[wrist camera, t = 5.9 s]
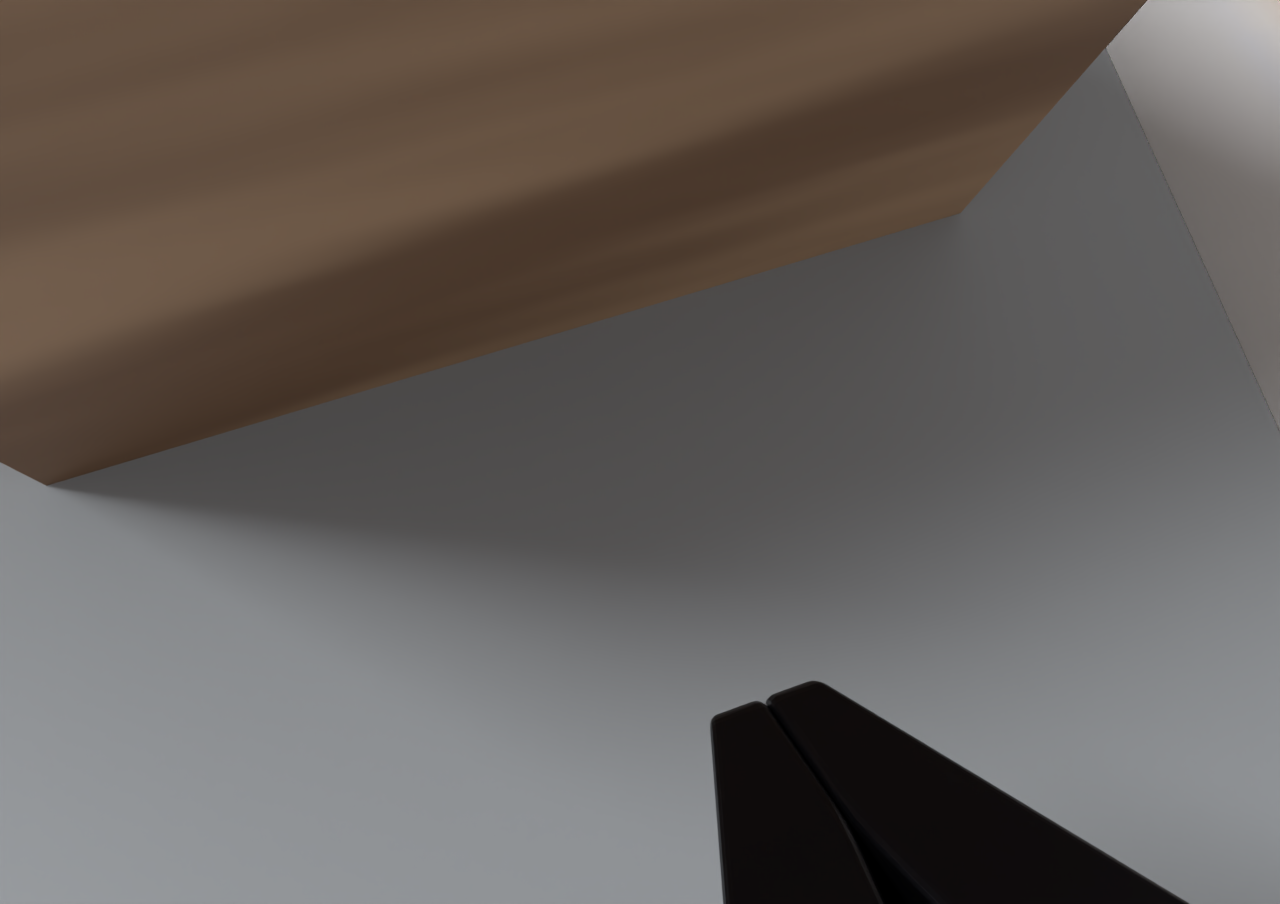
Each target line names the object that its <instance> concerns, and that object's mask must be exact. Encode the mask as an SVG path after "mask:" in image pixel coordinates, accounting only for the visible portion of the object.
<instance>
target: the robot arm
mask: <svg viewBox="0 0 1280 904" xmlns="http://www.w3.org/2000/svg"><path fill="white" fill-rule="evenodd" d="M710 736H711V749H712V762H713V776H714V789H715V803H716V816H717V830H718V843H719V857H720V870H721V883H722V897H723V904H1190V903H1188V902H1186V901H1185V900H1183V899H1181V898H1180V897H1178V896H1176V895H1175V894H1173V893H1172V892H1170V891H1168V890H1167V889H1165V888H1163V887H1162V886H1160V885H1158V884H1157V883H1155V882H1153V881H1152V880H1150V879H1148V878H1147V877H1145V876H1143V875H1142V874H1140V873H1138V872H1137V871H1135V870H1133V869H1132V868H1130V867H1128V866H1127V865H1125V864H1123V863H1122V862H1120V861H1118V860H1117V859H1115V858H1113V857H1112V856H1110V855H1109V854H1107V853H1105V852H1104V851H1102V850H1100V849H1099V848H1097V847H1095V846H1094V845H1092V844H1090V843H1089V842H1087V841H1085V840H1084V839H1082V838H1080V837H1079V836H1077V835H1075V834H1074V833H1072V832H1070V831H1069V830H1067V829H1065V828H1064V827H1062V826H1060V825H1059V824H1057V823H1055V822H1054V821H1052V820H1051V819H1049V818H1047V817H1046V816H1044V815H1042V814H1041V813H1039V812H1037V811H1036V810H1034V809H1032V808H1031V807H1029V806H1027V805H1026V804H1024V803H1022V802H1021V801H1019V800H1017V799H1016V798H1014V797H1012V796H1011V795H1009V794H1007V793H1006V792H1004V791H1002V790H1001V789H999V788H997V787H996V786H994V785H993V784H991V783H989V782H988V781H986V780H984V779H983V778H981V777H979V776H978V775H976V774H974V773H973V772H971V771H969V770H968V769H966V768H964V767H963V766H961V765H959V764H958V763H956V762H954V761H953V760H951V759H949V758H948V757H946V756H944V755H943V754H941V753H939V752H938V751H936V750H934V749H933V748H931V747H930V746H928V745H926V744H925V743H923V742H921V741H920V740H918V739H916V738H915V737H913V736H911V735H910V734H908V733H906V732H905V731H903V730H901V729H900V728H898V727H896V726H895V725H893V724H891V723H890V722H888V721H886V720H885V719H883V718H881V717H880V716H878V715H876V714H875V713H873V712H872V711H870V710H868V709H867V708H865V707H863V706H862V705H860V704H858V703H857V702H855V701H853V700H852V699H850V698H848V697H847V696H845V695H843V694H842V693H840V692H838V691H837V690H835V689H833V688H832V687H830V686H828V685H827V684H825V683H823V682H819V681H808V682H805V683H802V684H800V685H797V686H794V687H791V688H789V689H786V690H783V691H780V692H777V693H775V694H772V695H771V696H770V697H768V699H767V700H766V703H765V704H764V703H762V702H760V701H753V702H750V703H747V704H744V705H742V706H739V707H736V708H733V709H731V710H728V711H725V712H722V713H720V714H717V715H715V716H714V717H713V718H712V719H711V722H710Z"/></svg>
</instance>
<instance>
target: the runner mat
mask: <svg viewBox="0 0 1280 904" xmlns="http://www.w3.org/2000/svg"><path fill="white" fill-rule="evenodd" d="M808 681H819V682H823V683H825V684H827V685H828V686H830V687H832V688H833V689H835V690H837V691H838V692H840V693H842V694H843V695H845V696H847V697H848V698H850V699H852V700H853V701H855V702H857V703H858V704H860V705H862V706H863V707H865V708H867V709H868V710H870V711H872V712H873V713H875V714H876V715H878V716H880V717H881V718H883V719H885V720H886V721H888V722H890V723H891V724H893V725H895V726H896V727H898V728H900V729H901V730H903V731H905V732H906V733H908V734H910V735H911V736H913V737H915V738H916V739H918V740H920V741H921V742H923V743H925V744H926V745H928V746H930V747H931V748H933V749H934V750H936V751H938V752H939V753H941V754H943V755H944V756H946V757H948V758H949V759H951V760H953V761H954V762H956V763H958V764H959V765H961V766H963V767H964V768H966V769H968V770H969V771H971V772H973V773H974V774H976V775H978V776H979V777H981V778H983V779H984V780H986V781H988V782H989V783H991V784H993V785H994V786H996V787H997V788H999V789H1001V790H1002V791H1004V792H1006V793H1007V794H1009V795H1011V796H1012V797H1014V798H1016V799H1017V800H1019V801H1021V802H1022V803H1024V804H1026V805H1027V806H1029V807H1031V808H1032V809H1034V810H1036V811H1037V812H1039V813H1041V814H1042V815H1044V816H1046V817H1047V818H1049V819H1051V820H1052V821H1054V822H1055V823H1057V824H1059V825H1060V826H1062V827H1064V828H1065V829H1067V830H1069V831H1070V832H1072V833H1074V834H1075V835H1077V836H1079V837H1080V838H1082V839H1084V840H1085V841H1087V842H1089V843H1090V844H1092V845H1094V846H1095V847H1097V848H1099V849H1100V850H1102V851H1104V852H1105V853H1107V854H1109V855H1110V856H1112V857H1113V858H1115V859H1117V860H1118V861H1120V862H1122V863H1123V864H1125V865H1127V866H1128V867H1130V868H1132V869H1133V870H1135V871H1137V872H1138V873H1140V874H1142V875H1143V876H1145V877H1147V878H1148V879H1150V880H1152V881H1153V882H1155V883H1157V884H1158V885H1160V886H1162V887H1163V888H1165V889H1167V890H1168V891H1170V892H1172V893H1173V894H1175V895H1176V896H1178V897H1180V898H1181V899H1183V900H1185V901H1186V902H1188V903H1190V904H1280V431H1279V429H1278V427H1277V425H1276V422H1275V420H1274V418H1273V416H1272V414H1271V411H1270V409H1269V407H1268V405H1267V403H1266V400H1265V398H1264V396H1263V394H1262V392H1261V389H1260V387H1259V385H1258V383H1257V381H1256V378H1255V376H1254V374H1253V372H1252V370H1251V367H1250V365H1249V363H1248V361H1247V358H1246V356H1245V354H1244V352H1243V350H1242V347H1241V345H1240V343H1239V341H1238V339H1237V336H1236V334H1235V332H1234V330H1233V328H1232V325H1231V323H1230V321H1229V319H1228V317H1227V314H1226V312H1225V310H1224V308H1223V306H1222V303H1221V301H1220V299H1219V297H1218V295H1217V292H1216V290H1215V288H1214V286H1213V283H1212V281H1211V279H1210V277H1209V275H1208V272H1207V270H1206V268H1205V266H1204V264H1203V261H1202V259H1201V257H1200V255H1199V253H1198V250H1197V248H1196V246H1195V244H1194V242H1193V239H1192V237H1191V235H1190V233H1189V231H1188V228H1187V226H1186V224H1185V222H1184V220H1183V217H1182V215H1181V213H1180V211H1179V209H1178V206H1177V204H1176V202H1175V200H1174V197H1173V195H1172V193H1171V191H1170V189H1169V186H1168V184H1167V182H1166V180H1165V178H1164V175H1163V173H1162V171H1161V169H1160V167H1159V164H1158V162H1157V160H1156V158H1155V156H1154V153H1153V151H1152V149H1151V147H1150V145H1149V142H1148V140H1147V138H1146V136H1145V134H1144V131H1143V129H1142V127H1141V125H1140V122H1139V120H1138V118H1137V116H1136V114H1135V111H1134V109H1133V107H1132V105H1131V103H1130V100H1129V98H1128V96H1127V94H1126V92H1125V89H1124V87H1123V85H1122V83H1121V81H1120V78H1119V76H1118V74H1117V72H1116V70H1115V67H1114V65H1113V63H1112V61H1111V59H1110V56H1109V54H1108V52H1107V50H1106V48H1105V49H1104V50H1103V51H1102V52H1101V53H1100V55H1099V56H1098V57H1097V58H1096V59H1095V60H1094V61H1093V63H1092V64H1091V65H1090V66H1089V67H1088V68H1087V69H1086V71H1085V72H1084V73H1083V74H1082V75H1081V76H1080V77H1079V79H1078V80H1077V81H1076V82H1075V83H1074V84H1073V85H1072V87H1071V88H1070V89H1069V90H1068V91H1067V92H1066V93H1065V95H1064V96H1063V97H1062V98H1061V99H1060V100H1059V101H1058V102H1057V104H1056V105H1055V106H1054V107H1053V108H1052V109H1051V110H1050V112H1049V113H1048V114H1047V115H1046V116H1045V117H1044V118H1043V120H1042V121H1041V122H1040V123H1039V124H1038V125H1037V126H1036V128H1035V129H1034V130H1033V131H1032V132H1031V133H1030V134H1029V136H1028V137H1027V138H1026V139H1025V140H1024V141H1023V142H1022V144H1021V145H1020V146H1019V147H1018V148H1017V149H1016V150H1015V152H1014V153H1013V154H1012V155H1011V156H1010V157H1009V158H1008V159H1007V161H1006V162H1005V163H1004V164H1003V165H1002V166H1001V167H1000V169H999V170H998V171H997V172H996V173H995V174H994V175H993V177H992V178H991V179H990V180H989V181H988V182H987V183H986V185H985V186H984V187H983V188H982V189H981V190H980V191H979V193H978V194H977V195H976V196H975V197H974V198H973V199H972V201H971V202H970V203H969V204H968V205H967V206H966V207H965V209H964V210H963V211H962V212H961V213H959V214H956V215H953V216H949V217H946V218H942V219H939V220H936V221H932V222H929V223H926V224H922V225H919V226H916V227H912V228H909V229H906V230H902V231H899V232H895V233H892V234H889V235H885V236H882V237H879V238H875V239H872V240H869V241H865V242H862V243H859V244H855V245H852V246H849V247H845V248H842V249H838V250H835V251H832V252H828V253H825V254H822V255H818V256H815V257H812V258H808V259H805V260H802V261H798V262H795V263H792V264H788V265H785V266H781V267H778V268H775V269H771V270H768V271H765V272H761V273H758V274H755V275H751V276H748V277H745V278H741V279H738V280H735V281H731V282H728V283H724V284H721V285H718V286H714V287H711V288H708V289H704V290H701V291H698V292H694V293H691V294H688V295H684V296H681V297H678V298H674V299H671V300H667V301H664V302H661V303H657V304H654V305H651V306H647V307H644V308H641V309H637V310H634V311H631V312H627V313H624V314H621V315H617V316H614V317H610V318H607V319H604V320H600V321H597V322H594V323H590V324H587V325H584V326H580V327H577V328H574V329H570V330H567V331H564V332H560V333H557V334H553V335H550V336H547V337H543V338H540V339H537V340H533V341H530V342H527V343H523V344H520V345H517V346H513V347H510V348H507V349H503V350H500V351H496V352H493V353H490V354H486V355H483V356H480V357H476V358H473V359H470V360H466V361H463V362H460V363H456V364H453V365H450V366H446V367H443V368H439V369H436V370H433V371H429V372H426V373H423V374H419V375H416V376H413V377H409V378H406V379H403V380H399V381H396V382H393V383H389V384H386V385H382V386H379V387H376V388H372V389H369V390H366V391H362V392H359V393H356V394H352V395H349V396H346V397H342V398H339V399H336V400H332V401H329V402H325V403H322V404H319V405H315V406H312V407H309V408H305V409H302V410H299V411H295V412H292V413H289V414H285V415H282V416H279V417H275V418H272V419H268V420H265V421H262V422H258V423H255V424H252V425H248V426H245V427H242V428H238V429H235V430H232V431H228V432H225V433H222V434H218V435H215V436H211V437H208V438H205V439H201V440H198V441H195V442H191V443H188V444H185V445H181V446H178V447H175V448H171V449H168V450H165V451H161V452H158V453H154V454H151V455H148V456H144V457H141V458H138V459H134V460H131V461H128V462H124V463H121V464H118V465H114V466H111V467H108V468H104V469H101V470H97V471H94V472H91V473H87V474H84V475H81V476H77V477H74V478H71V479H67V480H64V481H61V482H57V483H54V484H51V485H47V486H46V485H44V484H42V483H40V482H38V481H36V480H34V479H32V478H30V477H28V476H26V475H24V474H22V473H20V472H18V471H16V470H14V469H12V468H11V467H9V466H7V465H5V464H3V463H1V462H0V904H723V897H722V883H721V870H720V857H719V843H718V830H717V816H716V803H715V789H714V776H713V762H712V749H711V736H710V722H711V719H712V718H713V717H714V716H715V715H717V714H720V713H722V712H725V711H728V710H731V709H733V708H736V707H739V706H742V705H744V704H747V703H750V702H753V701H760V702H762V703H764V704H765V703H766V700H767V699H768V697H770V696H771V695H772V694H775V693H777V692H780V691H783V690H786V689H789V688H791V687H794V686H797V685H800V684H802V683H805V682H808Z"/></svg>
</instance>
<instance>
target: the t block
mask: <svg viewBox="0 0 1280 904" xmlns="http://www.w3.org/2000/svg"><path fill="white" fill-rule="evenodd" d="M1146 1H1147V0H0V462H1V463H3V464H5V465H7V466H9V467H11V468H12V469H14V470H16V471H18V472H20V473H22V474H24V475H26V476H28V477H30V478H32V479H34V480H36V481H38V482H40V483H42V484H44V485H46V486H47V485H51V484H54V483H57V482H61V481H64V480H67V479H71V478H74V477H77V476H81V475H84V474H87V473H91V472H94V471H97V470H101V469H104V468H108V467H111V466H114V465H118V464H121V463H124V462H128V461H131V460H134V459H138V458H141V457H144V456H148V455H151V454H154V453H158V452H161V451H165V450H168V449H171V448H175V447H178V446H181V445H185V444H188V443H191V442H195V441H198V440H201V439H205V438H208V437H211V436H215V435H218V434H222V433H225V432H228V431H232V430H235V429H238V428H242V427H245V426H248V425H252V424H255V423H258V422H262V421H265V420H268V419H272V418H275V417H279V416H282V415H285V414H289V413H292V412H295V411H299V410H302V409H305V408H309V407H312V406H315V405H319V404H322V403H325V402H329V401H332V400H336V399H339V398H342V397H346V396H349V395H352V394H356V393H359V392H362V391H366V390H369V389H372V388H376V387H379V386H382V385H386V384H389V383H393V382H396V381H399V380H403V379H406V378H409V377H413V376H416V375H419V374H423V373H426V372H429V371H433V370H436V369H439V368H443V367H446V366H450V365H453V364H456V363H460V362H463V361H466V360H470V359H473V358H476V357H480V356H483V355H486V354H490V353H493V352H496V351H500V350H503V349H507V348H510V347H513V346H517V345H520V344H523V343H527V342H530V341H533V340H537V339H540V338H543V337H547V336H550V335H553V334H557V333H560V332H564V331H567V330H570V329H574V328H577V327H580V326H584V325H587V324H590V323H594V322H597V321H600V320H604V319H607V318H610V317H614V316H617V315H621V314H624V313H627V312H631V311H634V310H637V309H641V308H644V307H647V306H651V305H654V304H657V303H661V302H664V301H667V300H671V299H674V298H678V297H681V296H684V295H688V294H691V293H694V292H698V291H701V290H704V289H708V288H711V287H714V286H718V285H721V284H724V283H728V282H731V281H735V280H738V279H741V278H745V277H748V276H751V275H755V274H758V273H761V272H765V271H768V270H771V269H775V268H778V267H781V266H785V265H788V264H792V263H795V262H798V261H802V260H805V259H808V258H812V257H815V256H818V255H822V254H825V253H828V252H832V251H835V250H838V249H842V248H845V247H849V246H852V245H855V244H859V243H862V242H865V241H869V240H872V239H875V238H879V237H882V236H885V235H889V234H892V233H895V232H899V231H902V230H906V229H909V228H912V227H916V226H919V225H922V224H926V223H929V222H932V221H936V220H939V219H942V218H946V217H949V216H953V215H956V214H959V213H961V212H962V211H963V210H964V209H965V207H966V206H967V205H968V204H969V203H970V202H971V201H972V199H973V198H974V197H975V196H976V195H977V194H978V193H979V191H980V190H981V189H982V188H983V187H984V186H985V185H986V183H987V182H988V181H989V180H990V179H991V178H992V177H993V175H994V174H995V173H996V172H997V171H998V170H999V169H1000V167H1001V166H1002V165H1003V164H1004V163H1005V162H1006V161H1007V159H1008V158H1009V157H1010V156H1011V155H1012V154H1013V153H1014V152H1015V150H1016V149H1017V148H1018V147H1019V146H1020V145H1021V144H1022V142H1023V141H1024V140H1025V139H1026V138H1027V137H1028V136H1029V134H1030V133H1031V132H1032V131H1033V130H1034V129H1035V128H1036V126H1037V125H1038V124H1039V123H1040V122H1041V121H1042V120H1043V118H1044V117H1045V116H1046V115H1047V114H1048V113H1049V112H1050V110H1051V109H1052V108H1053V107H1054V106H1055V105H1056V104H1057V102H1058V101H1059V100H1060V99H1061V98H1062V97H1063V96H1064V95H1065V93H1066V92H1067V91H1068V90H1069V89H1070V88H1071V87H1072V85H1073V84H1074V83H1075V82H1076V81H1077V80H1078V79H1079V77H1080V76H1081V75H1082V74H1083V73H1084V72H1085V71H1086V69H1087V68H1088V67H1089V66H1090V65H1091V64H1092V63H1093V61H1094V60H1095V59H1096V58H1097V57H1098V56H1099V55H1100V53H1101V52H1102V51H1103V50H1104V49H1105V48H1106V47H1107V45H1108V44H1109V43H1110V42H1111V41H1112V40H1113V39H1114V37H1115V36H1116V35H1117V34H1118V33H1119V32H1120V31H1121V30H1122V28H1123V27H1124V26H1125V25H1126V24H1127V23H1128V22H1129V20H1130V19H1131V18H1132V17H1133V16H1134V15H1135V14H1136V12H1137V11H1138V10H1139V9H1140V8H1141V7H1142V6H1143V4H1144V3H1145V2H1146Z"/></svg>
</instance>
